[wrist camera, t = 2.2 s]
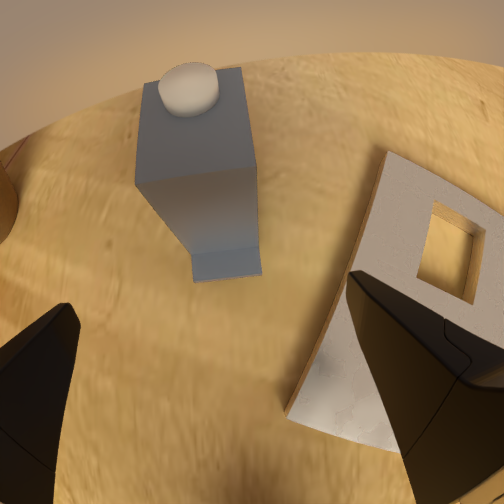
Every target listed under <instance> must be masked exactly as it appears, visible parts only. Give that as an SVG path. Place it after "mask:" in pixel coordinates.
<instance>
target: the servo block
mask: <svg viewBox="0 0 504 504" xmlns="http://www.w3.org/2000/svg"><path fill="white" fill-rule="evenodd" d="M135 186H136V187H137V188H138V189H139V191H140V192H141V193H142V195H143V196H144V197H145V198H146V200H147V201H148V202H149V204H150V205H151V206H152V207H153V209H154V210H155V211H156V212H157V214H158V215H159V216H160V217H161V219H162V220H163V221H164V222H165V224H166V225H167V226H168V227H169V228H170V230H171V231H172V232H173V233H174V235H175V236H176V237H177V238H178V240H179V241H180V242H181V243H182V244H183V246H184V247H185V248H186V249H187V250H188V252H189V253H190V254H191V258H192V271H193V282H194V283H201V282H209V281H218V280H227V279H235V278H243V277H251V276H259V275H262V268H261V260H260V252H259V237H258V200H257V166H256V159H255V153H254V146H253V140H252V133H251V127H250V120H249V114H248V108H247V102H246V95H245V89H244V83H243V77H242V71H241V67H237V68H229V69H221V70H214V69H213V68H212V67H211V66H209V65H207V64H204V63H198V62H193V63H185V64H182V65H179V66H176V67H174V68H172V69H171V70H169V71H168V72H167V73H166V74H165V75H164V76H163V77H162V78H161V80H159V81H154V82H149V83H145V84H144V88H143V95H142V103H141V112H140V121H139V131H138V142H137V155H136V170H135Z"/></svg>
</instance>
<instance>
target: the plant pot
mask: <svg viewBox="0 0 504 504" xmlns="http://www.w3.org/2000/svg"><path fill="white" fill-rule="evenodd" d="M17 209H18V199H17V194H16V192H15V190H14V188H13V186H12V183H11V181H10V179H9V177H8V175H7V173H6V171H5V169H4V167H3V165H2V163H1V161H0V244H1V243H2V242H3V241H4V240H5V239H6V237H7V236H8V234H9V233H10V231H11V229H12V227H13V224H14V222H15V219H16V215H17Z"/></svg>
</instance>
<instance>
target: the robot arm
mask: <svg viewBox="0 0 504 504" xmlns="http://www.w3.org/2000/svg"><path fill="white" fill-rule="evenodd" d="M346 301H347V304H348V308H349V311H350V315H351V318H352V322H353V325H354V329H355V332H356V336H357V339H358V342H359V345H360V347H361V350H362V352H363V355H364V357H365V360H366V362H367V364H368V367H369V369H370V372H371V374H372V377H373V380H374V382H375V385H376V387H377V390H378V392H379V395H380V398H381V400H382V403H383V406H384V408H385V411H386V414H387V416H388V419H389V422H390V425H391V427H392V430H393V433H394V436H395V439H396V441H397V444H398V447H399V450H400V453H401V456H402V459H403V462H404V465H405V468H406V471H407V475H408V478H409V481H410V484H411V487H412V490H413V494H414V497H415V500H416V504H456V503H458V502H460V504H504V349H503V348H501V347H499V346H497V345H495V344H493V343H491V342H489V341H487V340H485V339H483V338H481V337H479V336H477V335H475V334H473V333H471V332H469V331H467V330H465V329H464V328H462V327H460V326H458V325H457V324H455V323H453V322H452V321H450V320H448V319H446V318H445V319H444V317H443V316H441V315H440V314H438V313H436V312H434V311H433V310H431V309H429V308H428V307H426V306H424V305H422V304H421V303H419V302H417V301H415V300H414V299H412V298H410V297H408V296H407V295H405V294H403V293H401V292H400V291H398V290H396V289H394V288H393V287H391V286H389V285H387V284H386V283H384V282H382V281H380V280H378V279H377V278H375V277H373V276H371V275H369V274H368V273H366V272H364V271H362V270H356V271H350V272H349V273H348V275H347V284H346ZM80 329H81V325H80V321H79V319H78V317H77V315H76V313H75V311H74V309H73V307H72V305H71V304H70V303H59V304H58V305H56V306H55V307H53V308H52V309H51V310H49V311H48V312H47V313H45V314H44V315H43V316H41V317H40V318H39V319H37V320H36V321H35V322H33V323H32V324H31V325H29V326H28V327H27V328H25V329H24V330H23V331H21V332H20V333H19V334H18V335H16V336H15V337H14V338H12V339H11V340H10V341H9V342H7V343H6V344H5V345H4V346H2V347H1V348H0V504H53V498H54V484H55V472H56V463H57V455H58V448H59V441H60V434H61V428H62V422H63V417H64V411H65V406H66V401H67V396H68V392H69V387H70V383H71V378H72V374H73V370H74V365H75V359H76V352H77V346H78V340H79V334H80Z"/></svg>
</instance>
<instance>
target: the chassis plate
mask: <svg viewBox="0 0 504 504" xmlns="http://www.w3.org/2000/svg"><path fill="white" fill-rule="evenodd" d="M432 213H433V214H435V215H437V216H439V217H440V218H442V219H444V220H446V221H448V222H449V223H451V224H453V225H455V226H457V227H458V228H460V229H462V230H463V231H465V232H467V233H469V234H470V235H472V236H474V240H473V246H472V253H471V258H470V264H469V269H468V274H467V279H466V284H465V289H464V293H463V297H462V300H461V299H459V298H457V297H455V296H453V295H451V294H449V293H447V292H445V291H443V290H441V289H439V288H437V287H435V286H432V285H430V284H428V283H426V282H424V281H422V280H420V279H418V278H416V276H417V273H418V269H419V265H420V262H421V258H422V254H423V250H424V246H425V241H426V237H427V233H428V228H429V223H430V219H431V214H432ZM356 270H362V271H364V272H366V273H368V274H369V275H371V276H373V277H375V278H377V279H378V280H380V281H382V282H384V283H386V284H387V285H389V286H391V287H393V288H394V289H396V290H398V291H400V292H401V293H403V294H405V295H407V296H408V297H410V298H412V299H414V300H415V301H417V302H419V303H421V304H422V305H424V306H426V307H428V308H429V309H431V310H433V311H434V312H436V313H438V314H440V315H441V316H443V317H444V319H445V318H446V319H448V320H450V321H452V322H453V323H455V324H457V325H458V326H460V327H462V328H464V329H465V330H467V331H469V332H471V333H473V334H475V335H477V336H479V337H481V338H483V339H485V340H487V341H489V342H491V343H493V344H495V345H497V346H499V347H501V348H504V217H503V216H502V215H500V214H499V213H497V212H496V211H494V210H493V209H491V208H490V207H488V206H487V205H485V204H484V203H482V202H481V201H479V200H478V199H476V198H474V197H473V196H471V195H470V194H468V193H466V192H465V191H463V190H461V189H460V188H458V187H456V186H455V185H453V184H451V183H449V182H448V181H446V180H444V179H442V178H441V177H439V176H437V175H435V174H433V173H432V172H430V171H428V170H426V169H424V168H422V167H420V166H418V165H417V164H415V163H413V162H411V161H409V160H407V159H405V158H403V157H401V156H399V155H397V154H395V153H393V152H391V151H388V152H387V153H386V155H385V156H384V158H383V160H382V161H381V163H380V167H379V170H378V174H377V177H376V181H375V184H374V187H373V191H372V194H371V197H370V200H369V204H368V207H367V210H366V213H365V216H364V219H363V222H362V225H361V228H360V231H359V234H358V237H357V240H356V243H355V245H354V248H353V251H352V254H351V257H350V259H349V262H348V265H347V268H346V270H345V273H344V276H343V278H342V281H341V284H340V286H339V289H338V291H337V294H336V296H335V299H334V301H333V304H332V306H331V309H330V311H329V314H328V316H327V319H326V321H325V323H324V326H323V328H322V330H321V333H320V335H319V337H318V340H317V342H316V344H315V347H314V349H313V351H312V353H311V356H310V358H309V360H308V362H307V364H306V367H305V369H304V371H303V373H302V375H301V377H300V380H299V382H298V384H297V386H296V388H295V390H294V392H293V394H292V396H291V398H290V400H289V402H288V404H287V406H286V408H285V410H284V414H285V417H286V419H288V420H291V421H294V422H296V423H299V424H302V425H305V426H308V427H310V428H313V429H316V430H319V431H322V432H325V433H328V434H331V435H335V436H338V437H341V438H344V439H348V440H351V441H354V442H358V443H361V444H365V445H369V446H372V447H376V448H380V449H384V450H388V451H392V452H397V453H400V450H399V447H398V444H397V441H396V439H395V436H394V433H393V430H392V427H391V425H390V422H389V419H388V416H387V414H386V411H385V408H384V406H383V403H382V400H381V398H380V395H379V392H378V390H377V387H376V385H375V382H374V380H373V377H372V374H371V372H370V369H369V367H368V364H367V362H366V360H365V357H364V355H363V352H362V350H361V347H360V345H359V342H358V339H357V336H356V332H355V329H354V325H353V322H352V318H351V315H350V311H349V308H348V304H347V301H346V284H347V275H348V273H349V272H350V271H356Z"/></svg>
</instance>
